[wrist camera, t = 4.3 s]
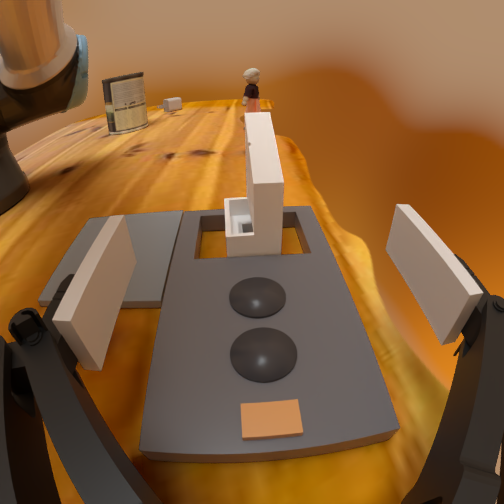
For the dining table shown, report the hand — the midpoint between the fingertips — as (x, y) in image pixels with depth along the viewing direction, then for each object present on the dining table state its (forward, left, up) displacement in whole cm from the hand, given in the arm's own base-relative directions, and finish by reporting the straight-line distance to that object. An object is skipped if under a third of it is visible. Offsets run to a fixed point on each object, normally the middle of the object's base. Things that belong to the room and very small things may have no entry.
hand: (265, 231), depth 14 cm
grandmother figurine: (-51, +3, -7) cm, 51 cm away
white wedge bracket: (-8, 0, -7) cm, 10 cm away
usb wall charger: (-84, -21, -7) cm, 87 cm away
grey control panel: (-2, 0, -6) cm, 7 cm away
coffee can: (-62, -27, -7) cm, 68 cm away
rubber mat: (-8, -11, -6) cm, 15 cm away
